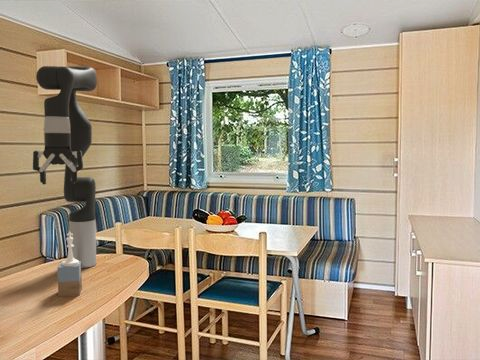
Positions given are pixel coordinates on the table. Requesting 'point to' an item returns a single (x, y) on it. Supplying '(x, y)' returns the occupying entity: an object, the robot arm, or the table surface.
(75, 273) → the slate-blue block
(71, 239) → the chess piece
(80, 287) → the walnut block
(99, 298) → the table surface
